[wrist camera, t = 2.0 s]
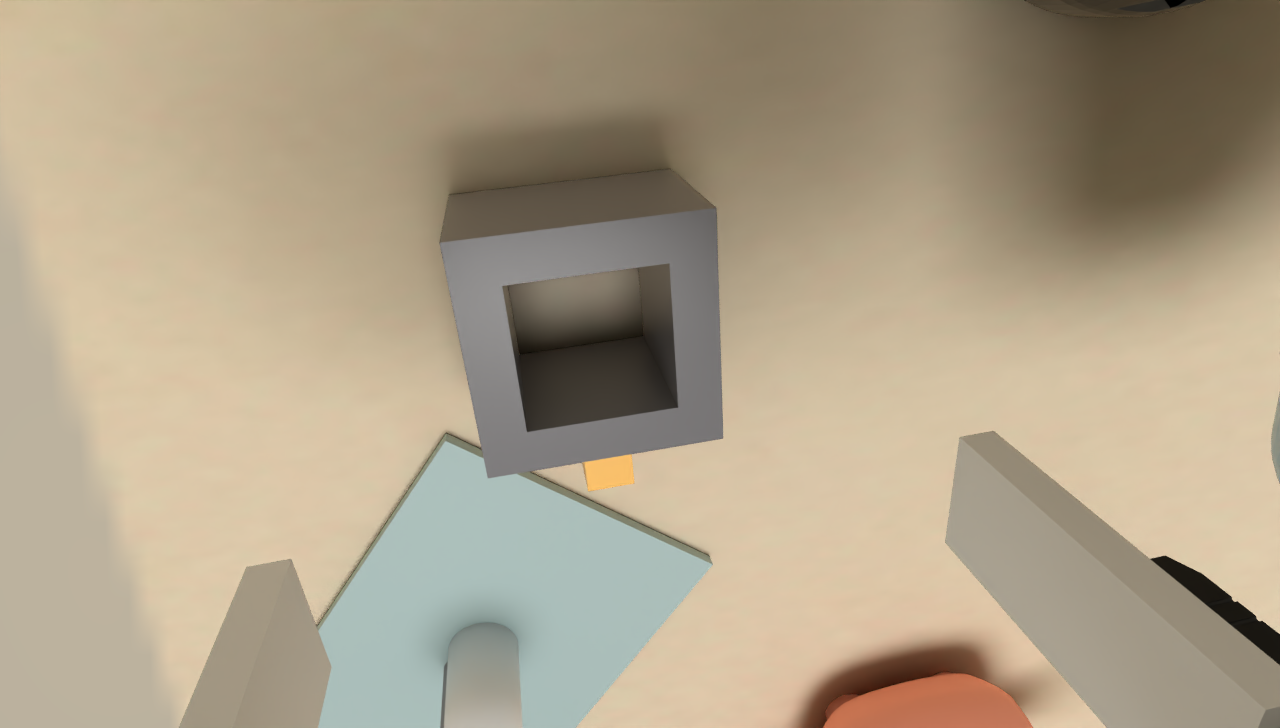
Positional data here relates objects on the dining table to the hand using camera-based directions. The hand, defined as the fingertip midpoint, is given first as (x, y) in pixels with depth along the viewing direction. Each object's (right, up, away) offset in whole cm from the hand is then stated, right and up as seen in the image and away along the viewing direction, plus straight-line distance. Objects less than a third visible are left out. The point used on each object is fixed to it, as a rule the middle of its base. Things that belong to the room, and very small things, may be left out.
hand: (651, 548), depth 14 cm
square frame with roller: (-3, +7, +14) cm, 15 cm away
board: (-8, -9, +20) cm, 24 cm away
